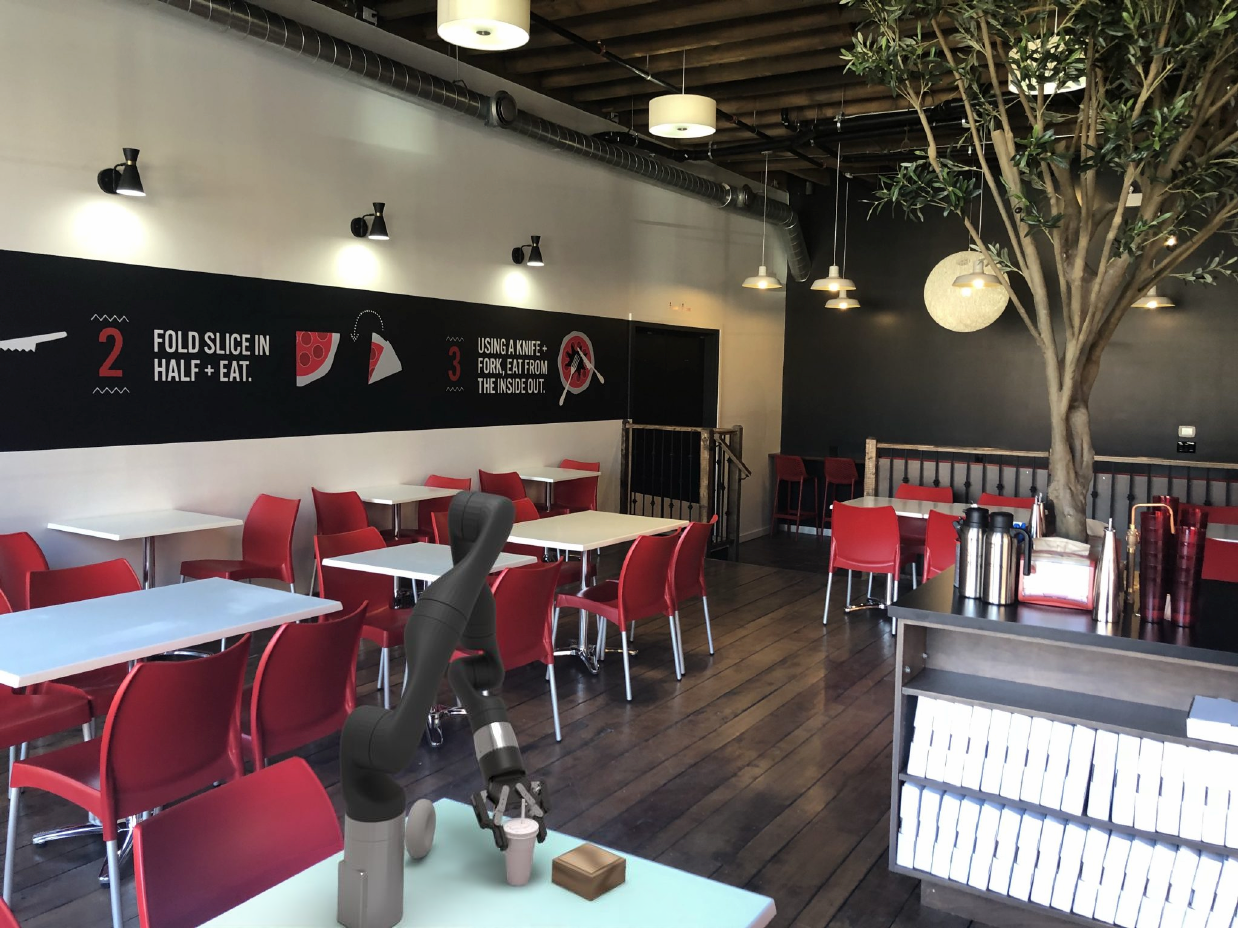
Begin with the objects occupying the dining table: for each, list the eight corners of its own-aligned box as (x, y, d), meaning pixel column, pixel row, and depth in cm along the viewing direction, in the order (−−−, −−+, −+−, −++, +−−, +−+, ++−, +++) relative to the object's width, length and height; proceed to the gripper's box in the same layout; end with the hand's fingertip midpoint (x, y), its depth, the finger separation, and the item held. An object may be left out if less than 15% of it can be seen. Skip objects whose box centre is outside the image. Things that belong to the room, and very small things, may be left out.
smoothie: (544, 880, 162) (547, 800, 161) (516, 893, 157) (519, 811, 157) (520, 867, 167) (522, 789, 166) (491, 879, 162) (494, 799, 161)
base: (590, 900, 156) (591, 875, 156) (551, 881, 162) (552, 857, 162) (625, 881, 163) (626, 857, 163) (586, 863, 169) (587, 840, 169)
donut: (419, 841, 175) (421, 789, 174) (437, 843, 174) (439, 790, 174) (401, 867, 165) (402, 811, 164) (420, 869, 164) (422, 813, 164)
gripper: (466, 750, 164) (491, 845, 154) (541, 738, 171) (569, 828, 161) (454, 769, 168) (477, 862, 159) (528, 757, 176) (554, 845, 166)
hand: (523, 845), depth 160 cm, fingers closed on smoothie, 6 cm apart
